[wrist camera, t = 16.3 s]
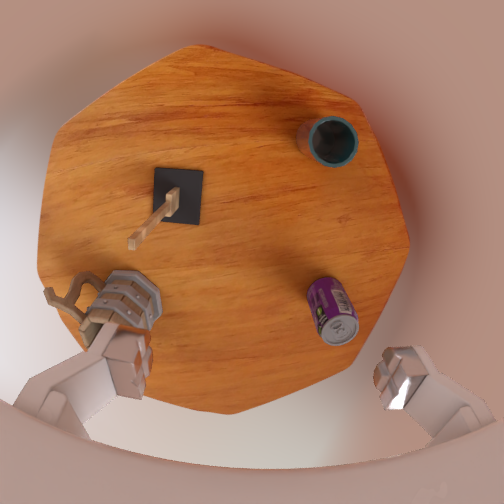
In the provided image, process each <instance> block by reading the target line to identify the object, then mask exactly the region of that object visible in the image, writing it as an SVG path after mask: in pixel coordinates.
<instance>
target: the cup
mask: <svg viewBox="0 0 504 504" xmlns="http://www.w3.org/2000/svg"><path fill="white" fill-rule="evenodd" d="M296 143H297V146H298V148H299V150H300V151H301V152H302V153H303V154H304V155H305V156H307V157H308V158H310V159H312V160H314V161H316V162H318V163H320V164H322V165H324V166H328V167H333V168H336V167H341V166H344V165H346V164H347V163H349V162H350V161H352V159H353V158H354V156H355V154H356V153H357V149H358V143H359V142H358V137H357V133H356V131H355V129H354V128H353V126H352V125H351V124H350V123H349V122H347V121H346V120H345V119H343V118H340V117H335V116H329V117H322V118H315V119H310V120H307V121H306V122H304V123H303V124H302V125H301V126H300V127H299V129H298V131H297V134H296Z"/></svg>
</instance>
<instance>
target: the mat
mask: <svg viewBox="0 0 504 504" xmlns="http://www.w3.org/2000/svg"><path fill="white" fill-rule="evenodd" d="M202 181H203V171H197V170H185V169H170V168H155V174H154V199H153V213H154V212H155V211H156V210H158V209H159V208H160V207H161V206H162V205H163V204H164V203H165V202H166V194H167V193H168V192H169V191H170V190H172V189H173V188H174V187H180V192H179V208H178V209H177V210H176V211H175V212H174V214H173V215H172V216H171V217H167V216H164V218H163V219H162V220H161V221H163V222H173V223H183V224H193V225H199V220H200V206H201V193H202Z"/></svg>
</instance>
